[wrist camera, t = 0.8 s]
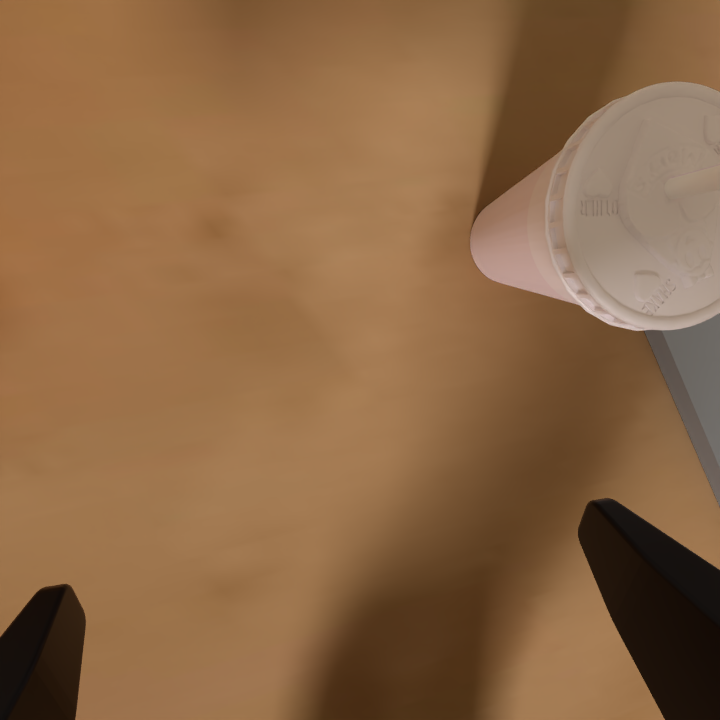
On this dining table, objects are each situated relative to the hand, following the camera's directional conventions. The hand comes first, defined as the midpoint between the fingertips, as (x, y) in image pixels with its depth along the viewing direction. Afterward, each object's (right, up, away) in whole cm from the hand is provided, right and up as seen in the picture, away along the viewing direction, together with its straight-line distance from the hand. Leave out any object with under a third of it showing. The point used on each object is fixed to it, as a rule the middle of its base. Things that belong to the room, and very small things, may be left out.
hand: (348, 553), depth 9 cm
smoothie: (+7, +8, +14) cm, 18 cm away
